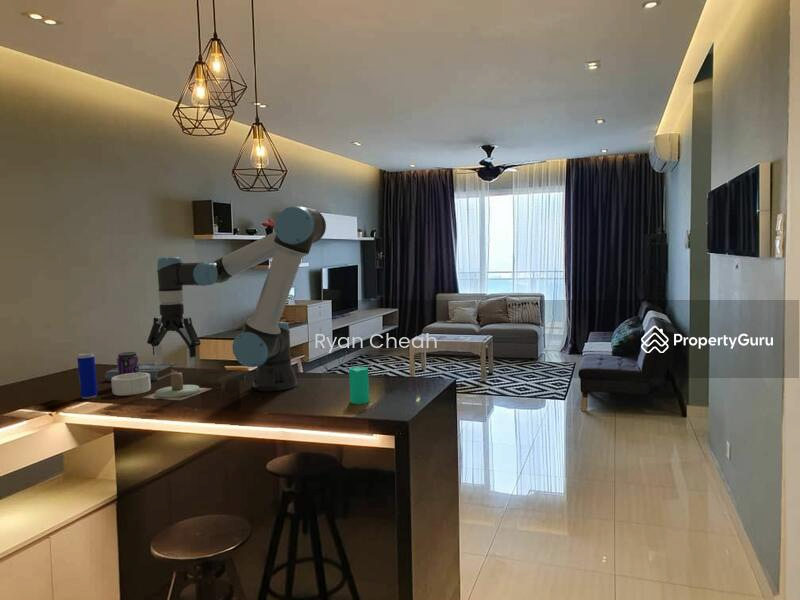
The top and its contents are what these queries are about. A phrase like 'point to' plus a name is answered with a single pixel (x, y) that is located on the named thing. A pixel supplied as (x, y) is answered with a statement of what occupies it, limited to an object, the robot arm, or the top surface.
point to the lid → (177, 388)
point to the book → (148, 371)
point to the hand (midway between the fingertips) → (174, 365)
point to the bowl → (131, 383)
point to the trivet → (177, 397)
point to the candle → (359, 385)
